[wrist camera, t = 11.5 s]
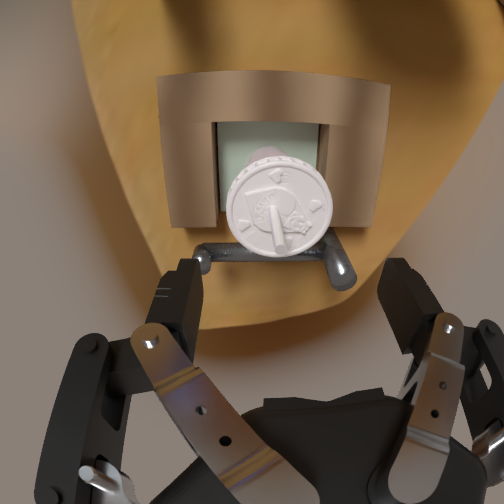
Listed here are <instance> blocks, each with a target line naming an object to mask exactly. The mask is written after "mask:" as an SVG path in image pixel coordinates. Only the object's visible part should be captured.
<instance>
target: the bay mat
mask: <svg viewBox="0 0 504 504" xmlns="http://www.w3.org/2000/svg"><path fill="white" fill-rule="evenodd" d="M217 130H218V159H219V183H220V204H221V211H226V203H227V194H228V192H229V189H230V187H231V185H232V182H233V181H234V180H235V178H236V177H237V176H238V175H239V173H240V172H241V171H242V170H243V169H244V168H245V166H246V164H247V162H248V160H249V158H250V156H251V155H252V153H253V152H254V151H255V150H257V149H259V148H261V147H264V146H274V147H277V148H279V149H281V150H282V151H284V152H285V153H286V154H288V155H289V156H291V157H293V158H297V159H299V160H302V161H304V162H306V163H308V164H310V165H311V166H312V167H313V168H314V169H316V159H317V146H318V130H319V123H303V122H279V121H227V122H217Z"/></svg>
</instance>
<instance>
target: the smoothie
mask: <svg viewBox="0 0 504 504" xmlns="http://www.w3.org/2000/svg"><path fill="white" fill-rule="evenodd" d="M332 212H333V203H332V197H331V193H330V191H329V188H328V186H327V184H326V182H325V180H324V179H323V177H322V176H321V174H320V173H319V172H318V171H317V170H316V169H314V168H313V167H312V166H311V165H310V164H308V163H306V162H304V161H302V160H299V159H297V158H293V157H291V156H289V155H288V154H286V153H285V152H284V151H282V150H281V149H279V148H277V147H274V146H264V147H261V148H259V149H257V150H255V151H254V152H253V153H252V155H251V156H250V158H249V160H248V162H247V164H246V166H245V168H244V169H243V170H242V171H241V172H240V173H239V175H238V176H237V177H236V178H235V180H234V181H233V182H232V185H231V187H230V189H229V192H228V194H227V203H226V215H227V221H228V225H229V227H230V230H231V232H232V233H233V235H234V237H235V238H236V239H237V240H238V241H239V242H240V243H241V244H242V245H243V246H244V247H246V248H247V249H248V250H250V251H252V252H254V253H257V254H259V255H263V256H267V257H288V256H292V255H296V254H299V253H301V252H303V251H305V250H307V249H309V248H310V247H312V246H313V245H314V244H315V243H317V242H318V241H319V240H320V238H321V237H322V236H323V235H324V233H325V232H326V230H327V228H328V226H329V224H330V221H331V218H332Z"/></svg>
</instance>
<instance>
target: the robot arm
mask: <svg viewBox="0 0 504 504" xmlns="http://www.w3.org/2000/svg"><path fill="white" fill-rule="evenodd" d="M499 1H500V2H501V4H502V5H503V6H504V0H499ZM377 294H378V299H379V301H380V303H381V305H382V308H383V310H384V312H385V314H386V317H387V319H388V321H389V323H390V326H391V328H392V330H393V333H394V335H395V338H396V340H397V342H398V345H399V347H400V350H401V352H402V354H409V353H412V354H413V358H412V360H411V362H410V365H409V367H408V371H407V373H406V376H405V378H404V381H403V384H402V386H401V389H400V391H399V394H398V395H397V397H396V398H395V397H391V396H386V395H384V392H383V389H382V387H381V388H375V389H369V390H362V391H356V392H353V393H350V394H348V395H345V396H342V397H340V398H337V399H334V400H331V401H327V402H325V401H317V400H310V399H303V398H297V397H289V398H264V404H263V406H262V407H259V408H255V409H253V410H250V411H248V412H246V413H244V414H242V415H241V416H240V415H239V414H238V412H237V411H236V410H235V409H234V408H233V407H232V406H231V404H230V403H229V402H228V401H227V400H226V398H225V397H224V396H223V395H222V394H221V392H220V391H219V390H218V389H217V387H216V386H215V385H214V384H213V383H212V381H211V380H210V379H209V378H208V376H207V375H206V374H205V373H204V371H203V370H202V369H201V368H199V367H197V368H196V367H195V366H194V365H193V360H194V353H195V347H196V341H197V334H198V328H199V322H200V316H201V310H202V304H203V283H202V276H201V268H200V261H199V259H180V261H179V264H178V267H177V270H176V271H168V272H167V273H166V274H165V275H164V276H163V277H162V278H161V279H160V282H159V285H158V287H157V290H156V293H155V297H154V298H153V301H152V304H151V307H150V310H149V313H148V316H147V319H146V321H145V324H144V325H141V326H140V327H138V328H137V329H136V330H135V331H134V332H133V334H132V335H131V337H130V338H127V339H122V340H117V341H111V342H108V340H107V339H106V337H105V336H103V335H102V334H99V333H91V334H87V335H85V336H83V337H82V338H80V339H79V340H78V342H77V343H76V344H75V347H74V349H73V351H72V354H71V357H70V359H69V362H68V365H67V367H66V370H65V373H64V376H63V379H62V382H61V385H60V388H59V391H58V394H57V397H56V400H55V404H54V407H53V410H52V414H51V417H50V421H49V425H48V428H47V432H46V436H45V440H44V444H43V448H42V452H41V457H40V462H39V467H38V472H37V477H36V483H35V489H34V497H35V501H36V504H140V503H139V502H138V500H137V499H136V496H135V490H134V485H133V482H132V480H131V479H130V478H129V476H128V475H126V474H125V473H124V472H122V471H120V469H121V460H122V453H123V445H124V438H125V432H126V425H127V419H128V413H129V407H130V402H131V396H132V394H137V393H143V392H148V391H153V390H154V392H155V393H156V395H157V397H158V398H159V400H160V401H161V403H162V404H163V406H164V408H165V410H166V411H167V413H168V414H169V416H170V417H171V419H172V421H173V422H174V424H175V425H176V427H177V428H178V430H179V431H180V433H181V434H182V436H183V437H184V439H185V440H186V442H187V443H188V445H189V446H190V447H191V449H192V450H193V451H194V453H195V454H196V456H197V457H198V458H197V459H196V460H195V461H194V462H193V463H192V464H191V465H190V466H189V467H188V468H187V469H186V470H185V471H183V472H182V473H181V474H180V475H179V476H178V477H177V478H176V479H175V480H174V481H173V482H172V483H171V484H170V485H169V486H167V487H166V488H165V489H164V490H163V491H162V492H161V493H160V494H159V495H158V496H156V497H155V498H154V499H153V500H152V501H151V502H150V503H149V504H484V499H485V494H486V489H487V487H491V486H495V485H497V484H499V483H501V482H503V481H504V334H503V333H502V331H501V329H500V327H499V326H498V325H497V324H496V323H494V322H493V321H491V320H488V319H484V320H481V321H480V323H479V324H478V326H477V327H476V328H472V327H466V326H463V324H462V322H461V320H460V319H459V318H457V317H456V316H455V315H453V314H451V313H446V312H444V311H443V309H442V307H441V306H440V304H439V303H438V301H437V299H436V297H435V296H434V294H433V293H432V291H431V289H430V288H429V286H428V285H426V282H425V280H424V279H423V277H422V276H421V275H420V274H419V273H418V272H417V271H415V270H414V269H411V267H410V266H409V264H408V263H407V261H406V260H405V259H404V258H387V260H386V261H385V264H384V267H383V271H382V274H381V277H380V280H379V283H378V287H377ZM484 363H485V364H486V367H487V369H488V371H489V373H490V376H491V379H492V384H491V387H490V389H489V390H488V388H487V386H486V383H485V381H484V378H483V376H482V374H481V371H480V368H481V367H482V366H483V365H484ZM459 399H460V400H461V403H462V406H463V409H464V412H465V415H466V419H467V422H468V426H469V429H470V433H471V436H472V440H473V444H472V450H471V451H470V450H468V449H467V448H466V447H464V446H463V445H462V444H460V443H459V442H458V441H456V440H455V439H454V438H453V437H451V436H450V434H451V431H452V427H453V423H454V420H455V416H456V412H457V407H458V403H459Z"/></svg>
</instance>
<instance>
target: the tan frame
mask: <svg viewBox="0 0 504 504" xmlns="http://www.w3.org/2000/svg"><path fill="white" fill-rule="evenodd" d="M157 88H158V106H159V121H160V134H161V145H162V156H163V166H164V175H165V183H166V192H167V200H168V207H169V214H170V222H171V228H189V227H216V226H217V221H218V215H219V200H218V180H217V157H216V130H215V122H227V121H279V122H303V123H319V124H320V137H319V151H318V164H317V171H318V172H319V173H320V174H321V176H322V177H323V179H324V180H325V182H326V184H327V186H328V188H329V191H330V193H331V197H332V203H333V212H332V218H331V221H330V224H329V226H328V227H371V225H372V220H373V216H374V211H375V205H376V200H377V195H378V189H379V183H380V177H381V171H382V164H383V157H384V150H385V143H386V134H387V125H388V116H389V105H390V91H391V85H388V84H383V83H378V82H373V81H368V80H362V79H356V78H349V77H342V76H335V75H326V74H317V73H306V72H292V71H269V70H233V71H210V72H196V73H185V74H175V75H167V76H159V77H157Z"/></svg>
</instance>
